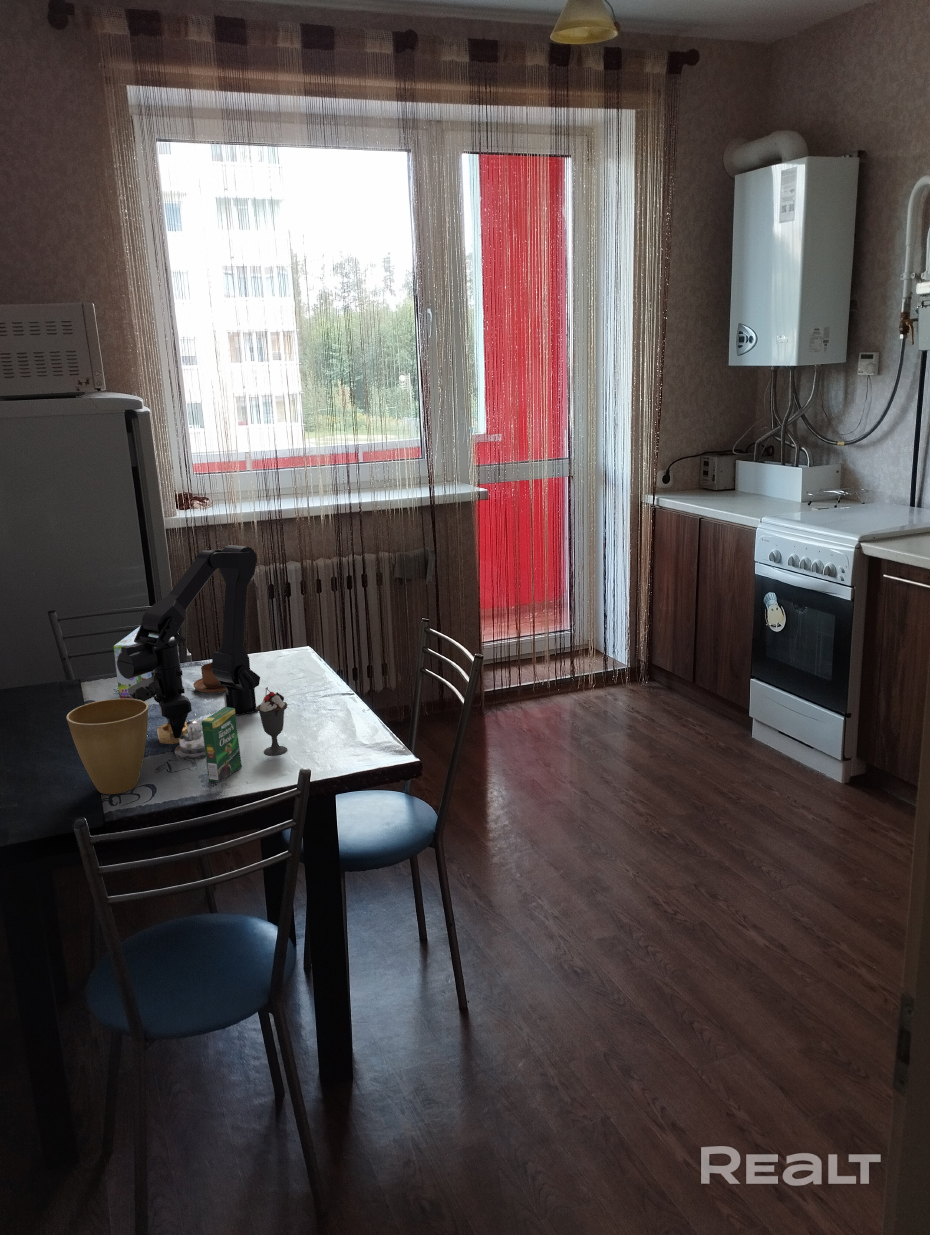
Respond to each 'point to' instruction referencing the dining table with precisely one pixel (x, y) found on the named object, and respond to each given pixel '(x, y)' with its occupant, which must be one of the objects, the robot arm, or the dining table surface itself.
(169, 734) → the ring
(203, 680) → the cup and saucer
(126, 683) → the snack box
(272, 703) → the sundae
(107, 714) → the plant pot
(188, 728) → the silver flanged knob
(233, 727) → the coffee box
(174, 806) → the dining table surface
